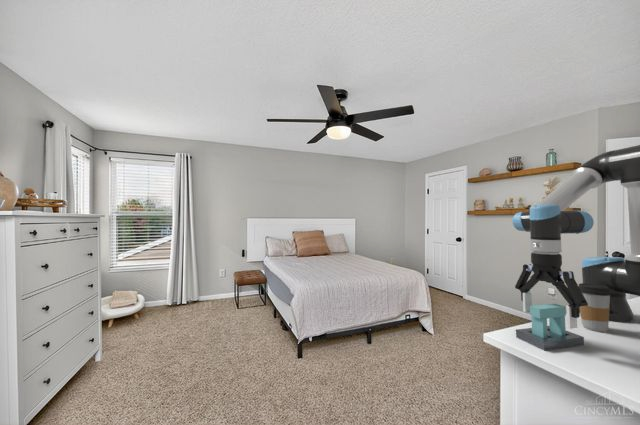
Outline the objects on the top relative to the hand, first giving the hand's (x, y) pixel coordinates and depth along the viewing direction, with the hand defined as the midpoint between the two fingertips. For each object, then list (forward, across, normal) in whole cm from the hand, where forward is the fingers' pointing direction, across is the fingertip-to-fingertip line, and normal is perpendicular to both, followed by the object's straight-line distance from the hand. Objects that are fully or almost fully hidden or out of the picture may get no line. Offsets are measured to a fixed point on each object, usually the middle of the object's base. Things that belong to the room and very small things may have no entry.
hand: (548, 319), depth 84 cm
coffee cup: (+7, -4, +25) cm, 26 cm away
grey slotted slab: (+7, 0, 0) cm, 7 cm away
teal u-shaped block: (+7, 0, 0) cm, 7 cm away
